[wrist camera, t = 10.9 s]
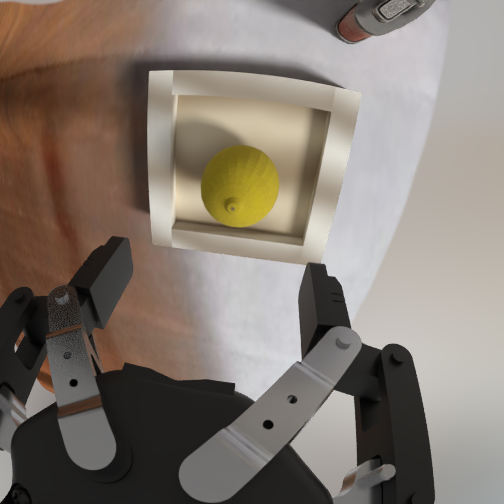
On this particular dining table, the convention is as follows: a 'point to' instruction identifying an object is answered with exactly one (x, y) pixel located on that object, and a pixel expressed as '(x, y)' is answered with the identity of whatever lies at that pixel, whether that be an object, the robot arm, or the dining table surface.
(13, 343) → the robot arm
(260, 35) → the dining table surface
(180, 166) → the birch base
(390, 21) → the lighter
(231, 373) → the dining table surface
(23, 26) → the dining table surface
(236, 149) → the lemon
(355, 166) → the dining table surface
